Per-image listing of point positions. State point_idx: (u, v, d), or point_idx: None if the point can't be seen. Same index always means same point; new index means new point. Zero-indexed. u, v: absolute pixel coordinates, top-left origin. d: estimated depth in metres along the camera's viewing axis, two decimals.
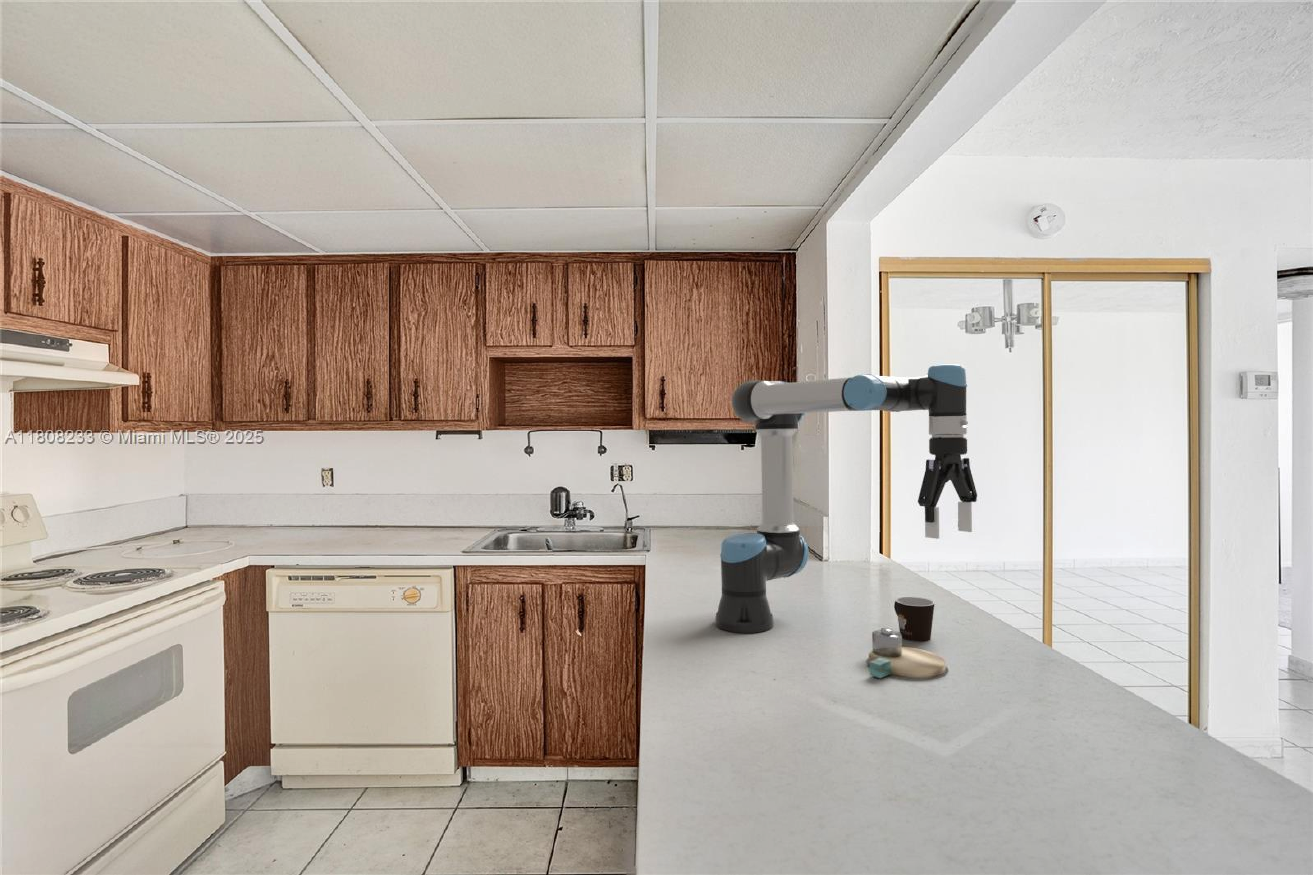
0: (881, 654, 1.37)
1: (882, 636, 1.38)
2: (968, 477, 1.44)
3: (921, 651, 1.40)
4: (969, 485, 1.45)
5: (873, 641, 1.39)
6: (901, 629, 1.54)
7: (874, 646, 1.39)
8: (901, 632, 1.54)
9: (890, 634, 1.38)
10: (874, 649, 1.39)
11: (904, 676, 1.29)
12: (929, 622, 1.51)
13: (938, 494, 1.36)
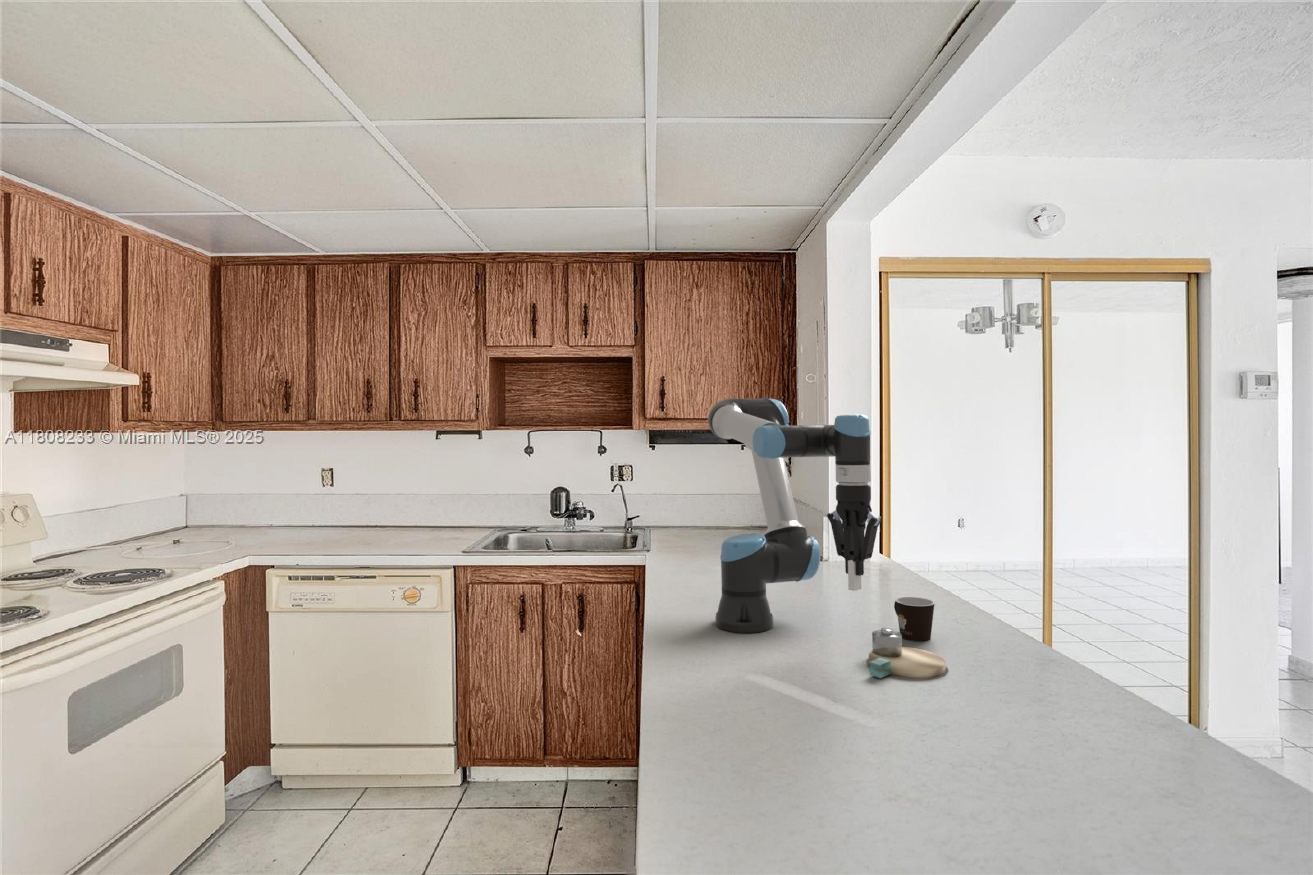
0: (881, 654, 1.37)
1: (882, 636, 1.38)
2: None
3: (921, 651, 1.40)
4: None
5: (873, 641, 1.39)
6: (901, 629, 1.54)
7: (874, 646, 1.39)
8: (901, 632, 1.54)
9: (890, 634, 1.38)
10: (874, 649, 1.39)
11: (904, 676, 1.29)
12: (929, 622, 1.51)
13: (845, 546, 1.46)
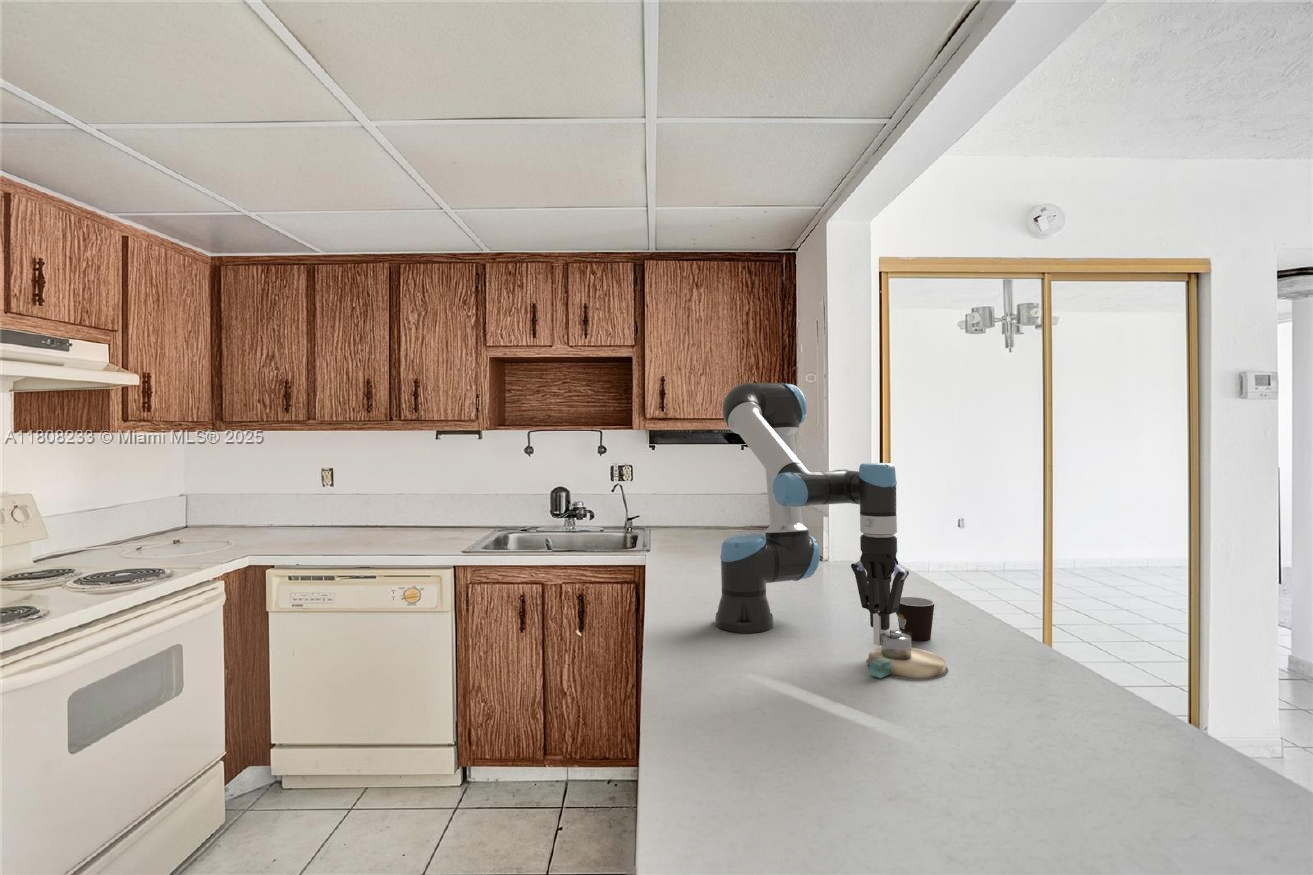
0: (890, 657, 1.35)
1: (891, 638, 1.36)
2: None
3: (921, 651, 1.40)
4: None
5: (882, 643, 1.37)
6: (901, 629, 1.54)
7: (883, 648, 1.37)
8: None
9: (899, 636, 1.37)
10: (883, 651, 1.37)
11: (904, 676, 1.29)
12: (929, 622, 1.51)
13: (870, 598, 1.41)
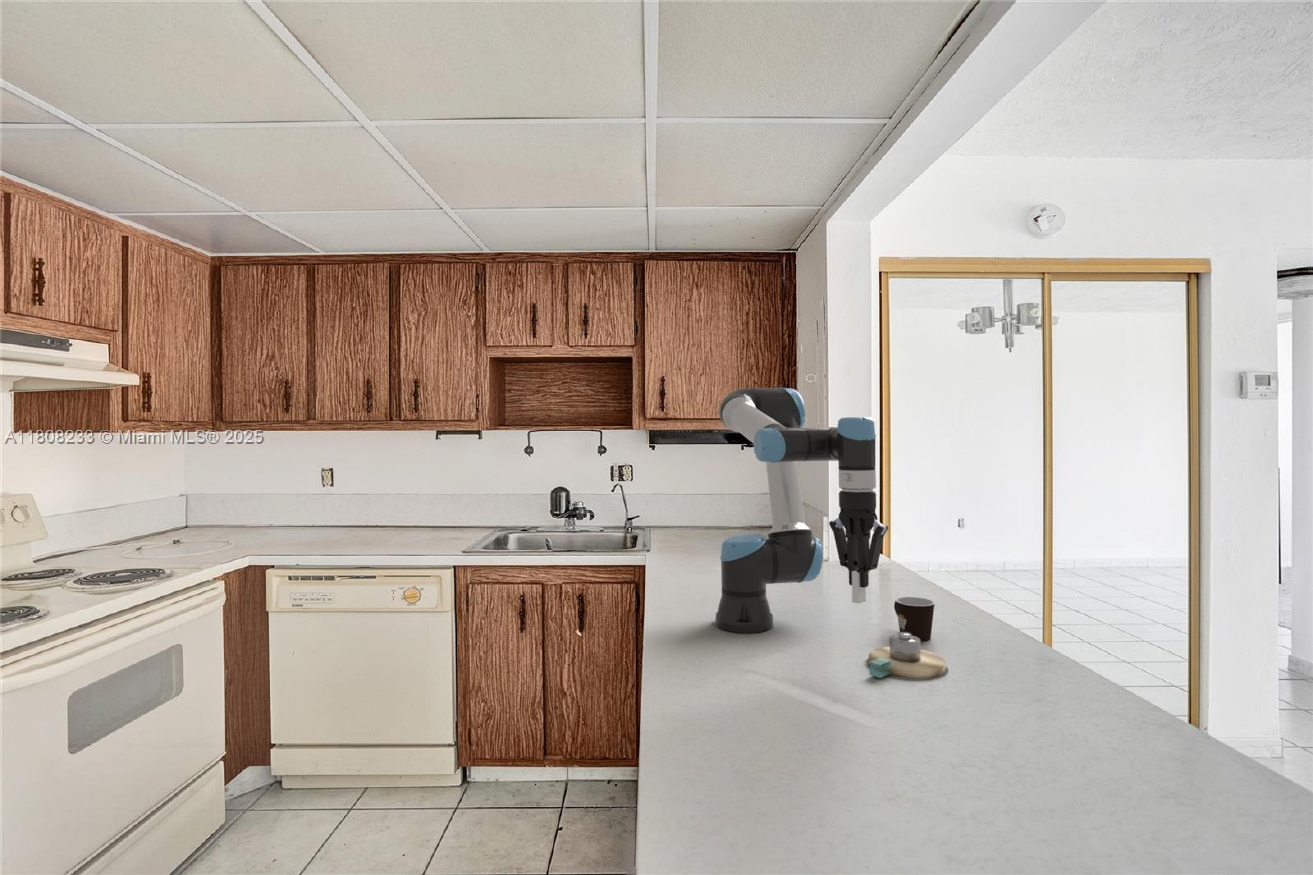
0: (899, 659, 1.34)
1: (900, 641, 1.35)
2: None
3: (921, 651, 1.40)
4: None
5: (891, 646, 1.36)
6: (901, 629, 1.54)
7: (892, 651, 1.35)
8: None
9: (908, 639, 1.35)
10: (892, 654, 1.35)
11: (904, 676, 1.29)
12: (929, 622, 1.51)
13: (849, 556, 1.38)
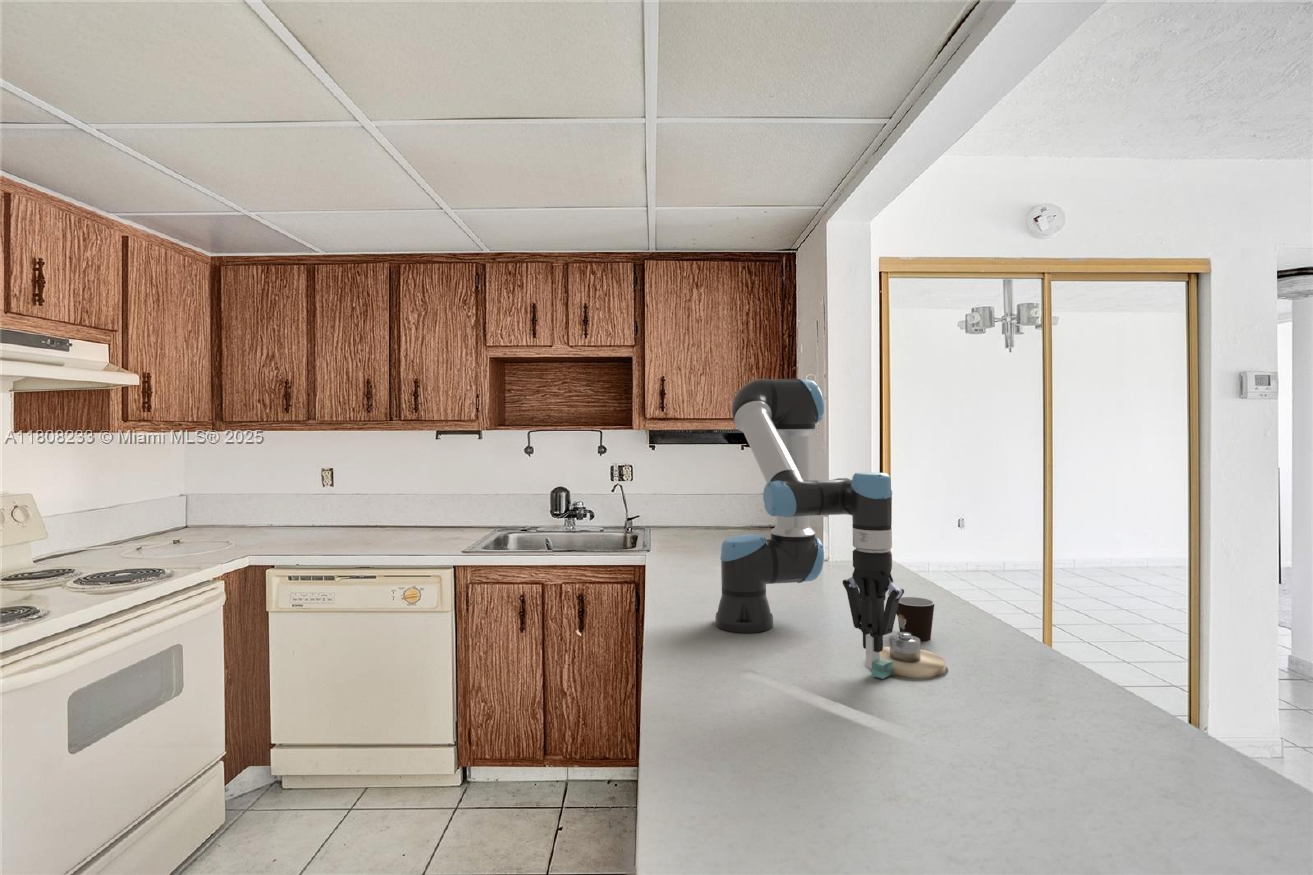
0: (900, 659, 1.34)
1: (901, 641, 1.34)
2: None
3: (920, 651, 1.40)
4: None
5: (891, 646, 1.36)
6: (901, 629, 1.54)
7: (892, 651, 1.35)
8: None
9: (908, 639, 1.35)
10: (892, 654, 1.35)
11: (906, 676, 1.29)
12: (929, 622, 1.51)
13: (863, 618, 1.31)
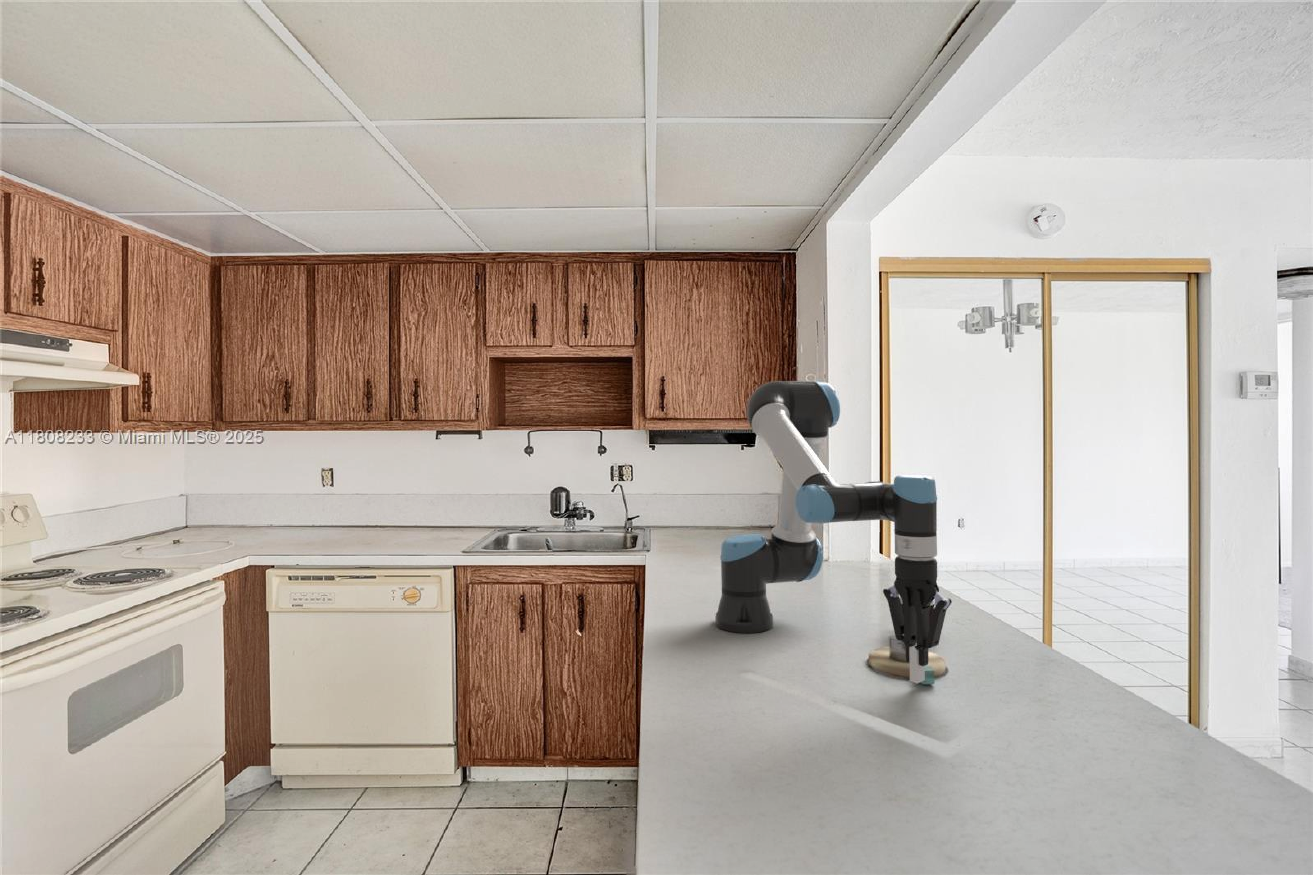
0: None
1: None
2: None
3: None
4: None
5: (900, 650, 1.33)
6: None
7: (903, 654, 1.33)
8: None
9: None
10: (903, 658, 1.33)
11: (936, 675, 1.29)
12: (929, 622, 1.51)
13: (906, 629, 1.24)
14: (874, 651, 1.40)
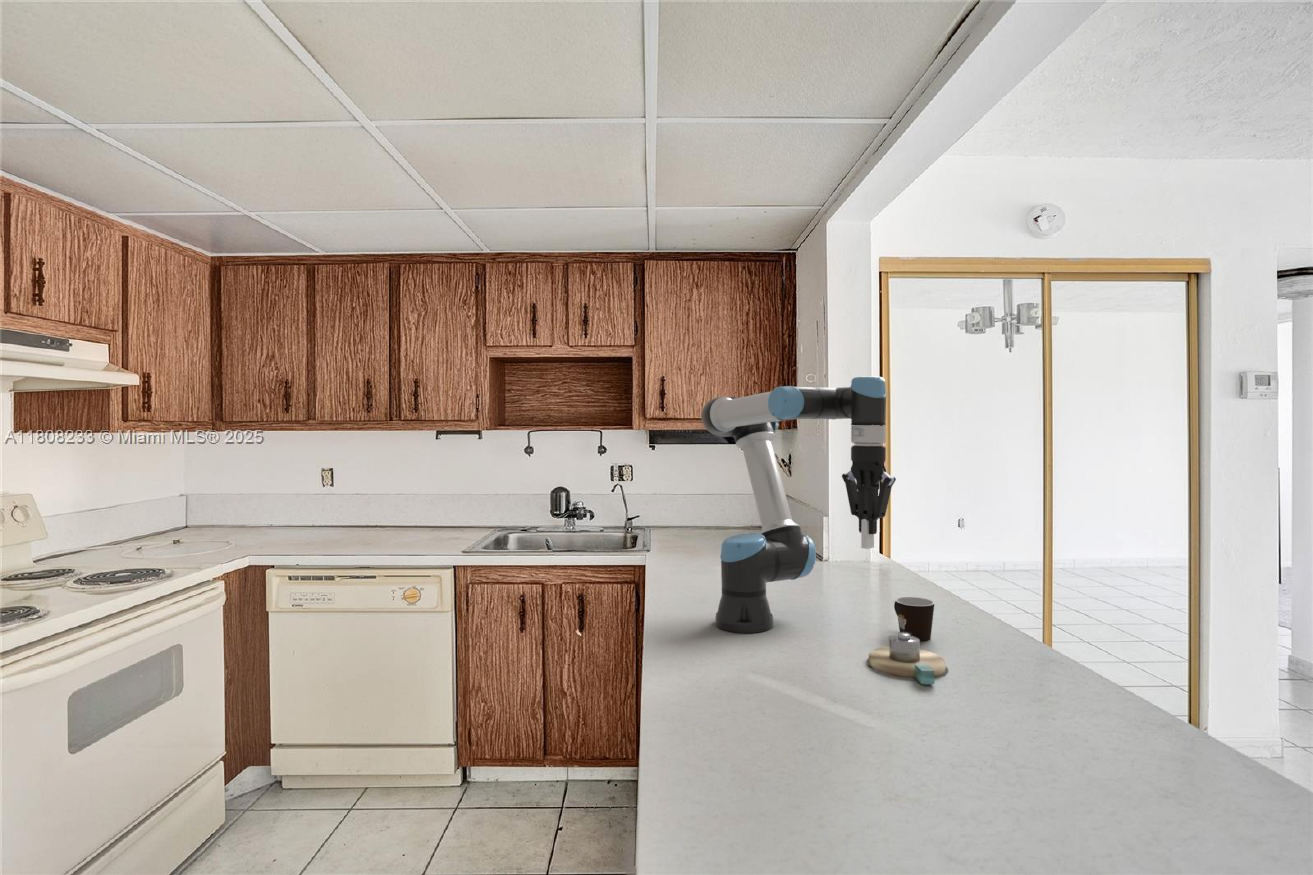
0: (912, 660, 1.33)
1: (909, 642, 1.34)
2: None
3: None
4: None
5: (900, 650, 1.33)
6: (901, 629, 1.54)
7: (903, 654, 1.33)
8: (901, 632, 1.54)
9: (910, 638, 1.36)
10: (903, 658, 1.33)
11: (936, 675, 1.29)
12: (929, 622, 1.51)
13: (859, 505, 1.49)
14: (874, 651, 1.40)
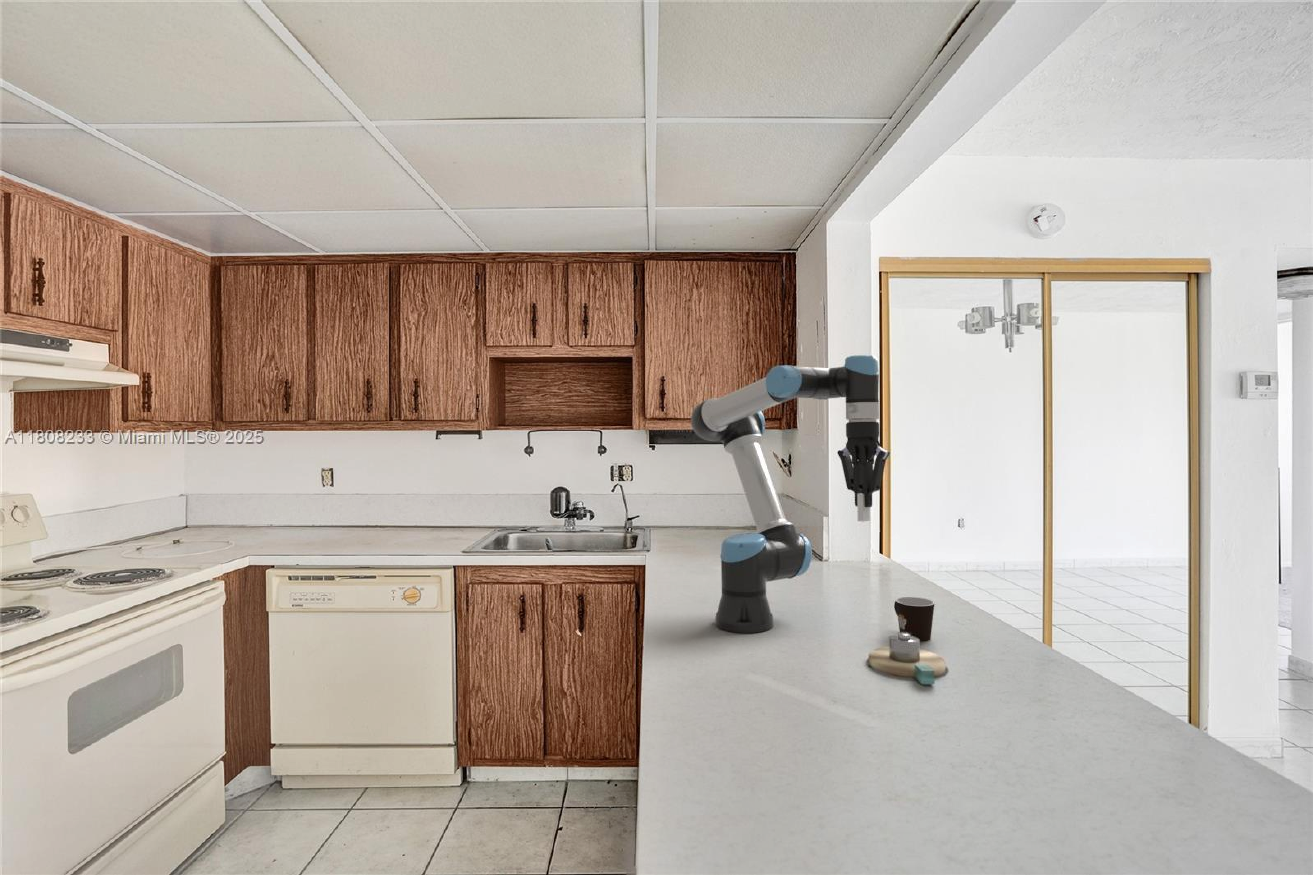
0: (912, 661, 1.33)
1: (909, 642, 1.34)
2: None
3: None
4: None
5: (900, 650, 1.33)
6: (901, 629, 1.54)
7: (903, 654, 1.33)
8: (901, 632, 1.54)
9: (910, 638, 1.36)
10: (903, 658, 1.33)
11: (936, 675, 1.29)
12: (929, 622, 1.51)
13: (854, 480, 1.54)
14: (874, 651, 1.40)
